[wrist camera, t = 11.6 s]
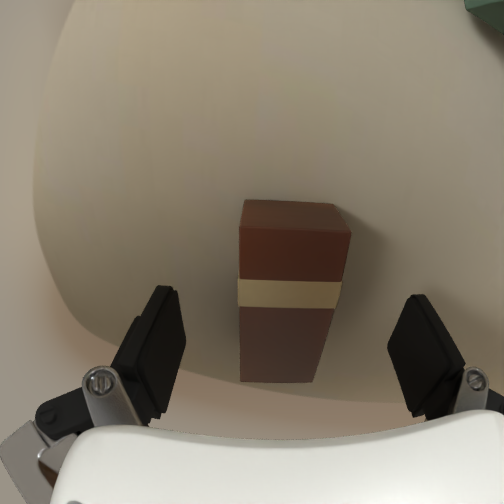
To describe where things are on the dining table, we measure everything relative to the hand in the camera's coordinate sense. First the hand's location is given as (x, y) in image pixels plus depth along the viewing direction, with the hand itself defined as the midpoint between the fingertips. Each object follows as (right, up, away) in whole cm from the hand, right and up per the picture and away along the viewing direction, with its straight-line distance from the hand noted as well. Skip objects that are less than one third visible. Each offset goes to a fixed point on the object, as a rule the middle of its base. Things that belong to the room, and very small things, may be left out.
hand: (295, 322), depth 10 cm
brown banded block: (0, +1, +2) cm, 2 cm away
